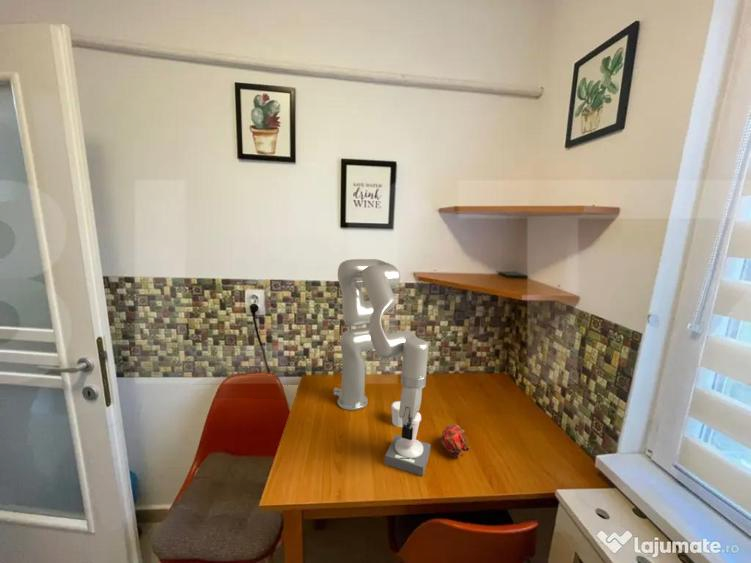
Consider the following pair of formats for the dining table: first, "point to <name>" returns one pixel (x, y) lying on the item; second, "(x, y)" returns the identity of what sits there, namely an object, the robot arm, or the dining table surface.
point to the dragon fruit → (454, 440)
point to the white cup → (396, 414)
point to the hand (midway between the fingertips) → (409, 431)
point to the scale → (408, 456)
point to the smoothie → (415, 429)
